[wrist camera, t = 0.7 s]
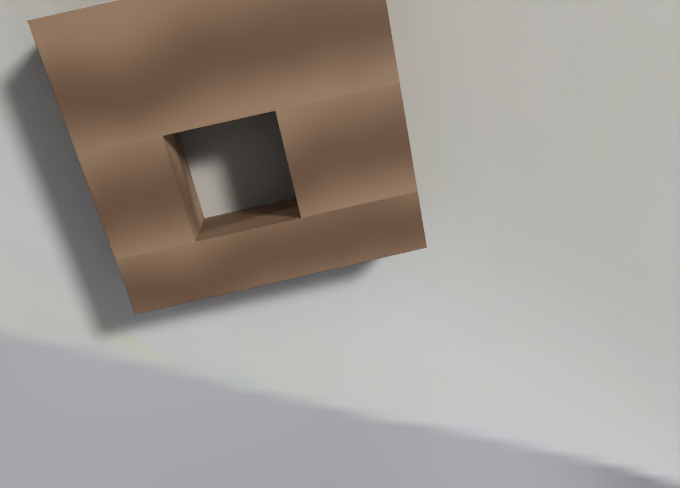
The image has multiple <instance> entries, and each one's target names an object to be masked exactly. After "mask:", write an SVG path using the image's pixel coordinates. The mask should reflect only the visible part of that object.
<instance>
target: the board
mask: <svg viewBox="0 0 680 488" xmlns="http://www.w3.org/2000/svg"><path fill="white" fill-rule="evenodd" d="M28 24H29V27H30V29H31V32H32V35H33V37H34V40H35V43H36V46H37V48H38V51H39V54H40V56H41V59H42V62H43V65H44V67H45V70H46V73H47V75H48V78H49V81H50V84H51V86H52V89H53V92H54V94H55V97H56V100H57V103H58V105H59V108H60V111H61V113H62V116H63V119H64V122H65V124H66V127H67V130H68V132H69V135H70V138H71V141H72V143H73V146H74V149H75V151H76V154H77V157H78V160H79V162H80V165H81V168H82V170H83V173H84V176H85V179H86V181H87V184H88V187H89V189H90V192H91V195H92V198H93V200H94V203H95V206H96V208H97V211H98V214H99V217H100V219H101V222H102V225H103V227H104V230H105V233H106V236H107V238H108V241H109V244H110V246H111V249H112V252H113V255H114V257H115V260H116V263H117V265H118V268H119V271H120V274H121V276H122V279H123V282H124V284H125V287H126V290H127V293H128V295H129V298H130V301H131V303H132V306H133V309H134V312H135V314H139V313H143V312H147V311H152V310H156V309H160V308H165V307H169V306H173V305H178V304H182V303H187V302H191V301H195V300H200V299H204V298H208V297H213V296H217V295H221V294H226V293H230V292H235V291H239V290H243V289H248V288H252V287H256V286H261V285H265V284H270V283H274V282H278V281H283V280H287V279H291V278H296V277H300V276H304V275H309V274H313V273H318V272H322V271H326V270H331V269H335V268H339V267H344V266H348V265H352V264H357V263H361V262H366V261H370V260H374V259H379V258H383V257H387V256H392V255H396V254H400V253H405V252H409V251H414V250H418V249H422V248H427V246H426V240H425V234H424V228H423V222H422V216H421V210H420V204H419V198H418V192H417V186H416V180H415V174H414V168H413V161H412V155H411V149H410V143H409V137H408V131H407V125H406V119H405V113H404V107H403V101H402V95H401V89H400V83H399V77H398V71H397V65H396V59H395V53H394V47H393V40H392V34H391V28H390V22H389V16H388V10H387V4H386V0H120V1H115V2H110V3H106V4H101V5H97V6H92V7H88V8H83V9H78V10H74V11H69V12H65V13H60V14H56V15H51V16H46V17H42V18H37V19H33V20H28ZM271 111H275V112H276V116H277V120H278V124H279V128H280V132H281V136H282V141H283V145H284V149H285V153H286V157H287V161H288V165H289V170H290V174H291V178H292V182H293V186H294V190H295V194H296V198H293V199H289V200H284V201H280V202H275V203H271V204H267V205H262V206H258V207H253V208H249V209H245V210H240V211H236V212H231V213H227V214H222V215H218V216H214V217H209V218H205V219H204V216H203V213H202V210H201V206H200V203H199V200H198V196H197V193H196V190H195V186H194V183H193V180H192V177H191V173H190V170H189V167H188V163H187V160H186V157H185V153H184V150H183V147H182V143H181V140H180V137H179V134H178V132H182V131H186V130H191V129H195V128H200V127H204V126H209V125H213V124H218V123H222V122H227V121H231V120H236V119H240V118H245V117H249V116H254V115H258V114H262V113H267V112H271Z"/></svg>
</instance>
